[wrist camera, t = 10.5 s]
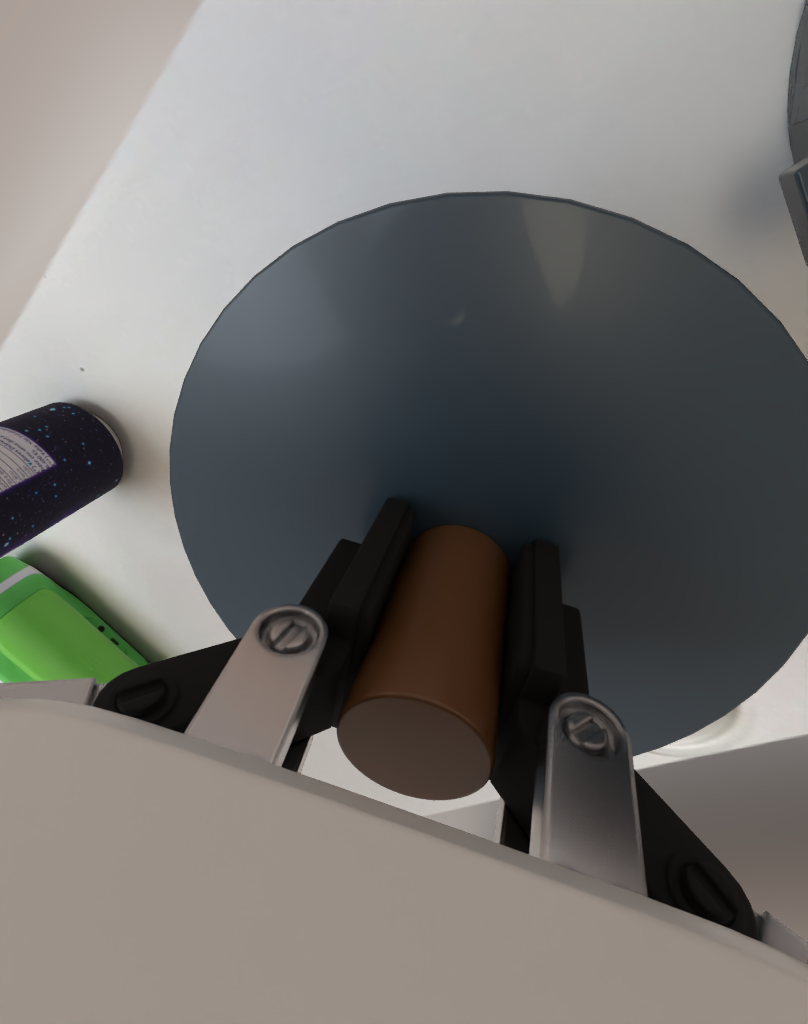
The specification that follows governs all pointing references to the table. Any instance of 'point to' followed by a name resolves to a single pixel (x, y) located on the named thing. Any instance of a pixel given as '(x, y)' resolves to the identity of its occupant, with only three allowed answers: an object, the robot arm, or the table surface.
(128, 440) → the table surface
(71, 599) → the speaker
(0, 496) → the beverage can
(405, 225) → the pot lid
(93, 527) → the table surface
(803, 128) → the pot
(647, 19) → the table surface
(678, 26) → the table surface
